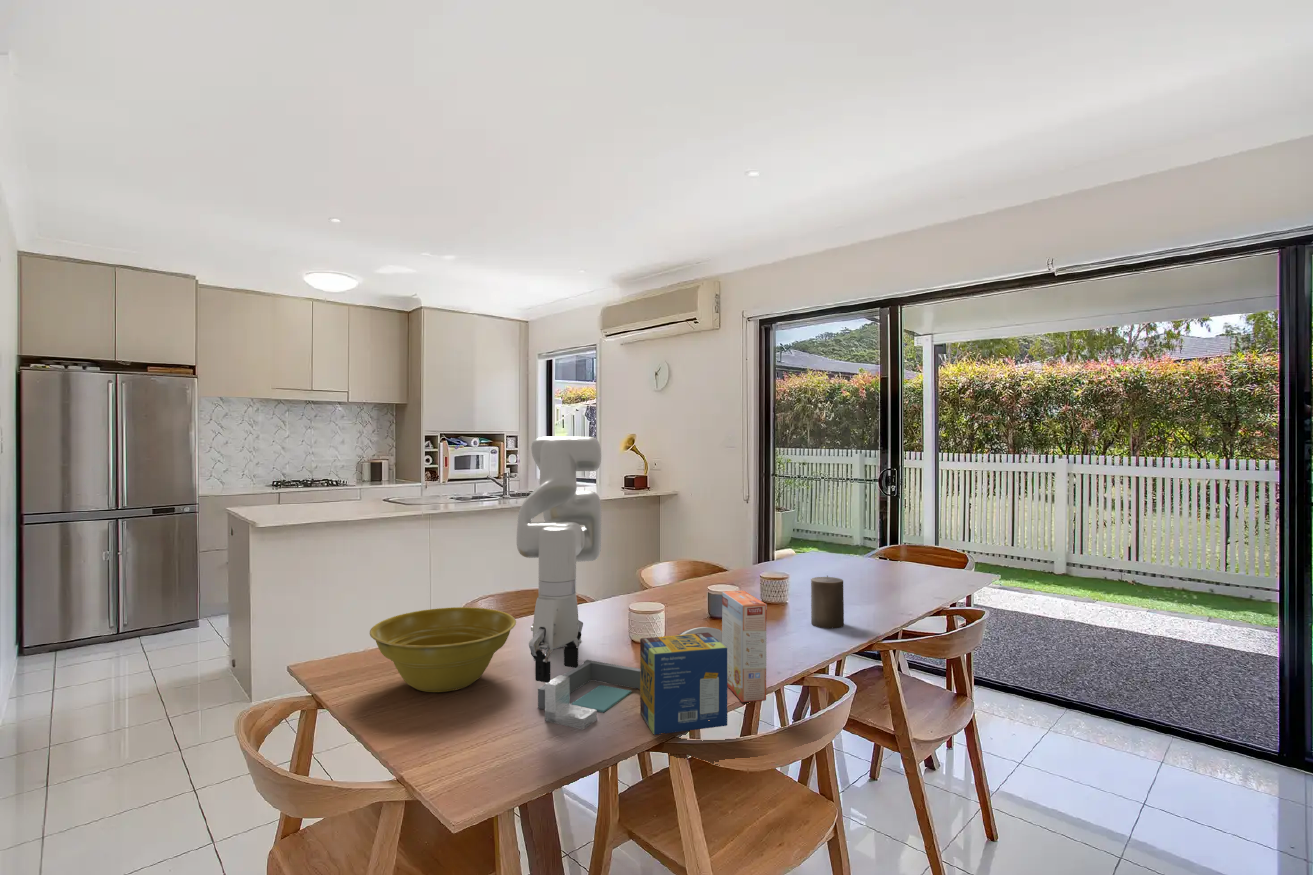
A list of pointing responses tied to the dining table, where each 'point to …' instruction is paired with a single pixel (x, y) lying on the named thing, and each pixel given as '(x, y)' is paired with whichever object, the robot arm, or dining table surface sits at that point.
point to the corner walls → (597, 677)
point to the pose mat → (601, 698)
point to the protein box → (683, 682)
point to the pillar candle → (827, 602)
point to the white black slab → (713, 631)
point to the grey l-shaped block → (565, 705)
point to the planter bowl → (442, 645)
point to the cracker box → (745, 644)
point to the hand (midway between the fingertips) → (557, 673)
